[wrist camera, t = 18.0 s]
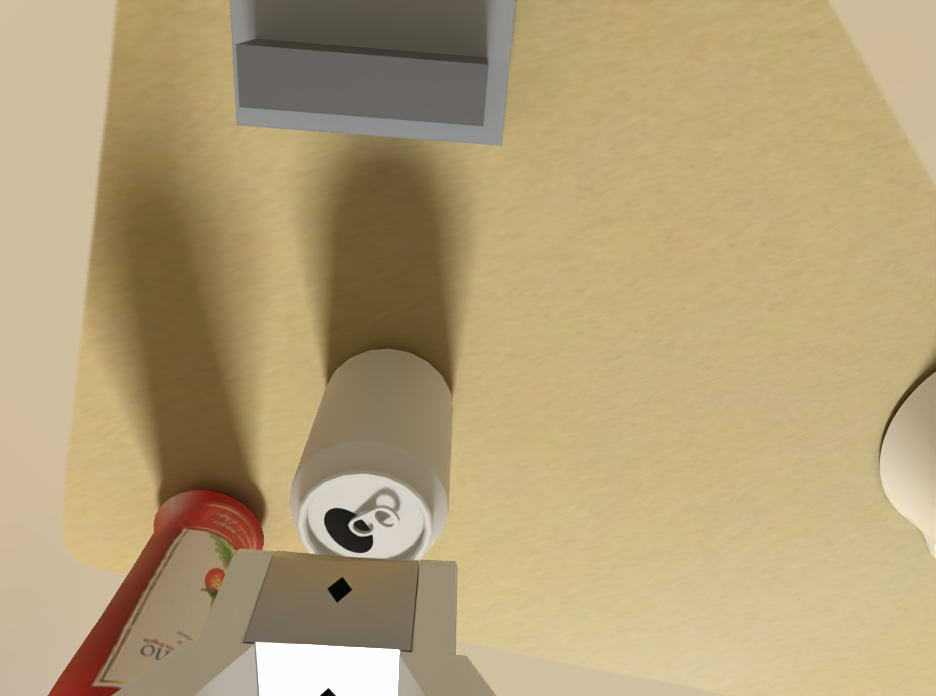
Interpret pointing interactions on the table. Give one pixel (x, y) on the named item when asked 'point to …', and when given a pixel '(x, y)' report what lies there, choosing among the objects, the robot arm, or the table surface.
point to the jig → (374, 67)
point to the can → (376, 460)
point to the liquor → (163, 592)
